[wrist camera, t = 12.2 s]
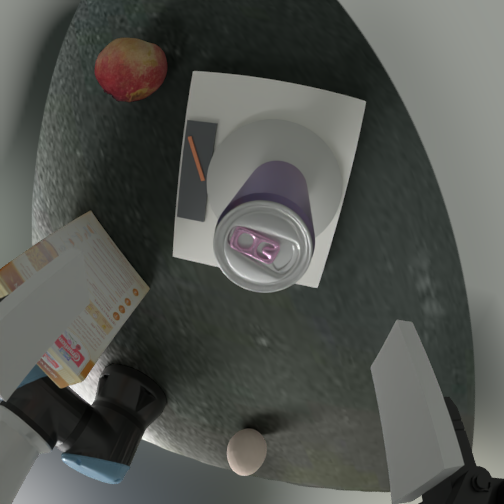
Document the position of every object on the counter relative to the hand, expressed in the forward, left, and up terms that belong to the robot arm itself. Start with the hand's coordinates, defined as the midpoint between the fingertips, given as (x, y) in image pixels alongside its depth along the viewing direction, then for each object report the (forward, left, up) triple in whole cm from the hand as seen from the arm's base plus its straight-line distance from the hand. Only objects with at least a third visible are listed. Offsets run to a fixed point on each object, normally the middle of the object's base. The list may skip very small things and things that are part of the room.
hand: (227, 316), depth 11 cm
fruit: (-17, +11, -25) cm, 33 cm away
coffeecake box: (-22, -16, -25) cm, 37 cm away
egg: (+6, -51, -25) cm, 57 cm away
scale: (-1, 0, -25) cm, 25 cm away
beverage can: (+1, 0, -21) cm, 21 cm away
